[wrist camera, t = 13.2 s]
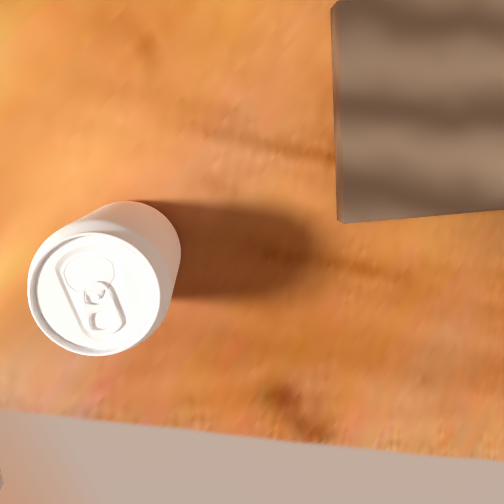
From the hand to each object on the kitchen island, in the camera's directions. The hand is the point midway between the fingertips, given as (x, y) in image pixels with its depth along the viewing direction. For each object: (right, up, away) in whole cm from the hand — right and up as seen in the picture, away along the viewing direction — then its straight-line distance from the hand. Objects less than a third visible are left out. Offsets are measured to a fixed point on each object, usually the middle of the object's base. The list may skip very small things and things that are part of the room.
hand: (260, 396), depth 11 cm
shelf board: (+17, +15, +26) cm, 34 cm away
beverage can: (-10, +4, +26) cm, 28 cm away
